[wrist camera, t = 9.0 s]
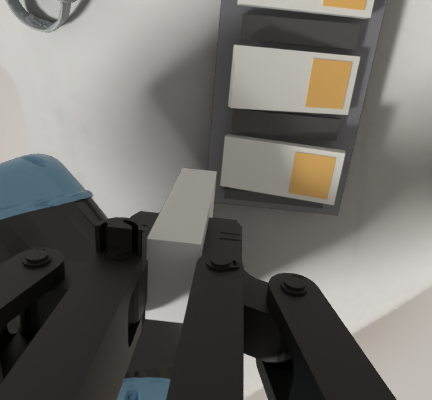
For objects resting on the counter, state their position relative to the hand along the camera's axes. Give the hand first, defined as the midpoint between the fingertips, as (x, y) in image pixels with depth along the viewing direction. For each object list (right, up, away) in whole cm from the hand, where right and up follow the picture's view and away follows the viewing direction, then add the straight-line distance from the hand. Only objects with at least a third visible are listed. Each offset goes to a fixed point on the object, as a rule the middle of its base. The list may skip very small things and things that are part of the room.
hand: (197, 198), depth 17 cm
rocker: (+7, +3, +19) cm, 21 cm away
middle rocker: (+8, +10, +16) cm, 21 cm away
